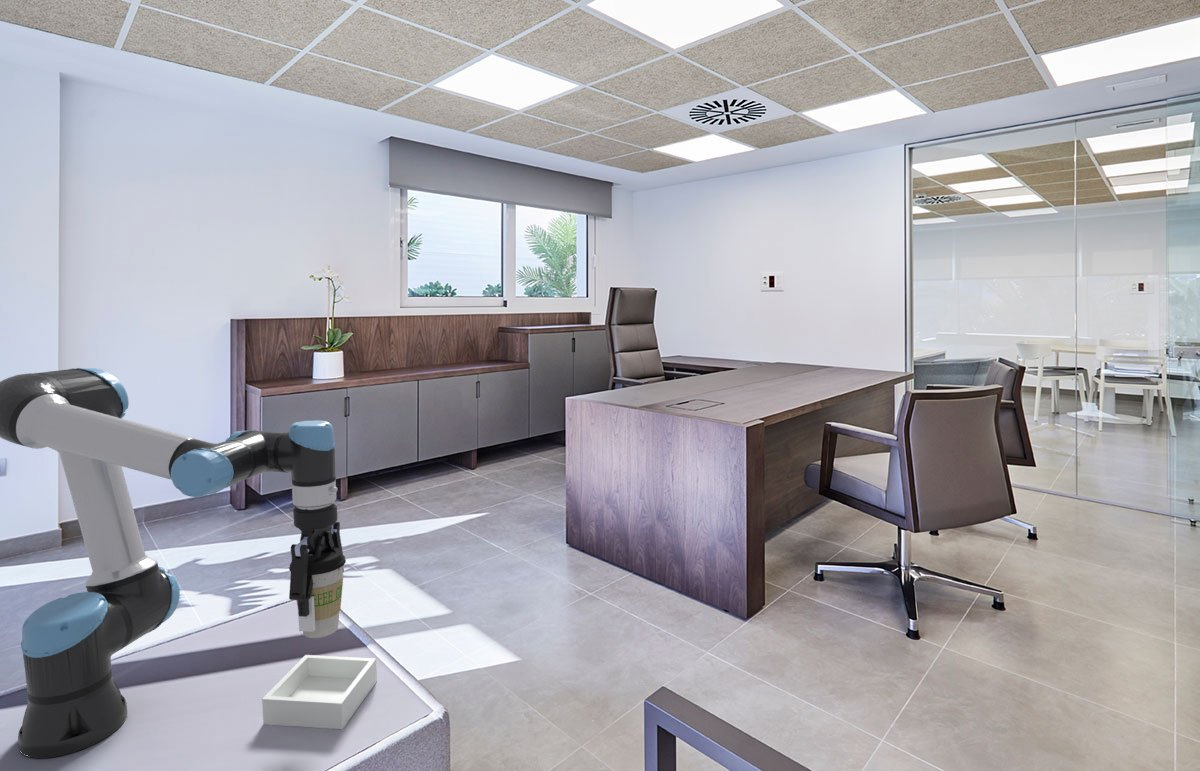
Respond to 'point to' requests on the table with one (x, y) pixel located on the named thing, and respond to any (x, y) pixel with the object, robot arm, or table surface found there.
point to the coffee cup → (326, 591)
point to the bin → (320, 692)
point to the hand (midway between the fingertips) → (320, 618)
